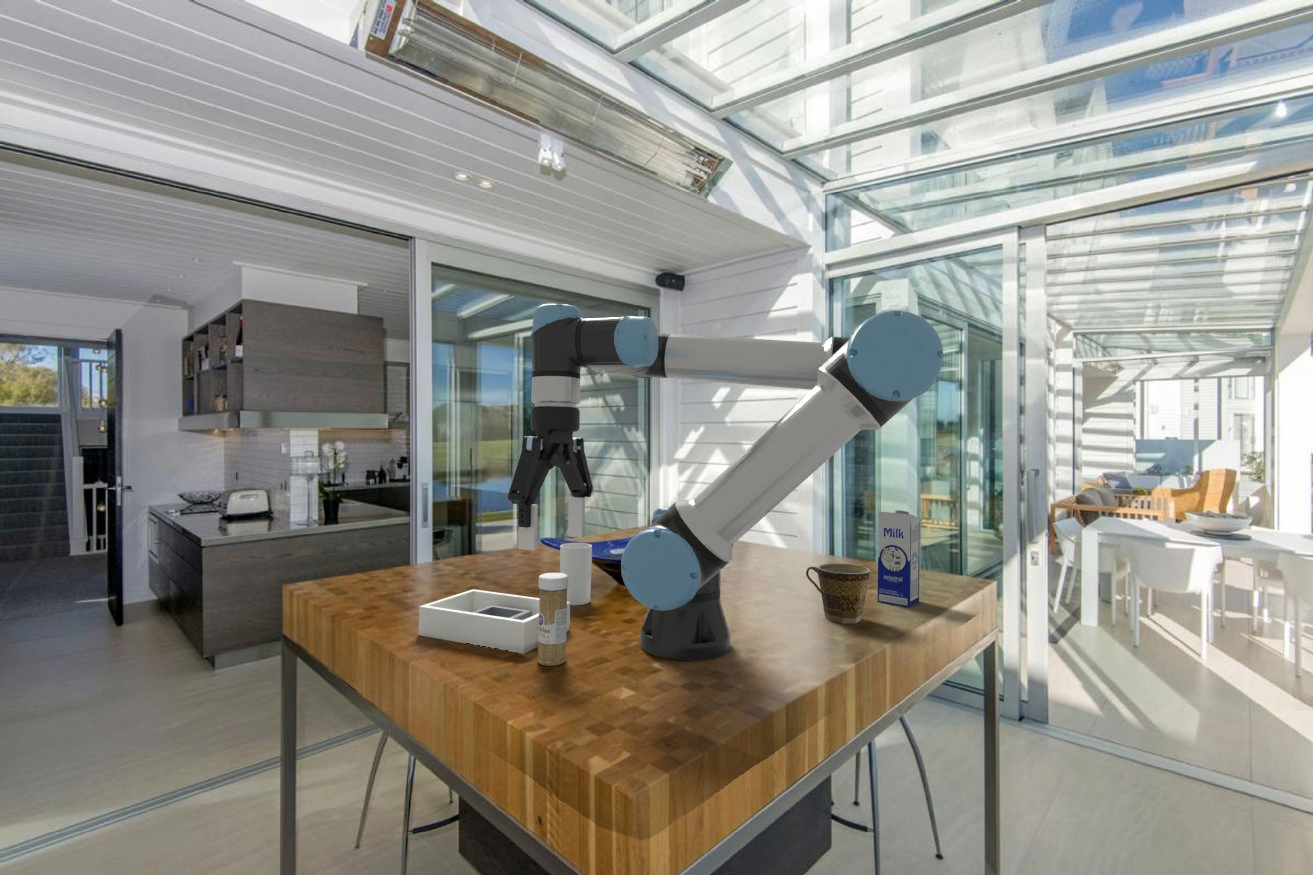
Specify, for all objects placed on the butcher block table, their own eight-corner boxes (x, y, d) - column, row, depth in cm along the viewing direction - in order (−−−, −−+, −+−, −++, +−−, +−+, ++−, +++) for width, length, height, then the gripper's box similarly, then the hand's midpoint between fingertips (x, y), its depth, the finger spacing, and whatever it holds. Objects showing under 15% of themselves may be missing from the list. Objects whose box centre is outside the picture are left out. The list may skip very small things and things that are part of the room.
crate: (569, 629, 112) (569, 602, 112) (523, 653, 99) (524, 622, 99) (472, 614, 120) (472, 589, 120) (418, 635, 107) (419, 606, 107)
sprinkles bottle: (531, 661, 95) (532, 574, 95) (553, 654, 99) (555, 570, 99) (550, 669, 92) (551, 579, 92) (573, 661, 96) (574, 574, 96)
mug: (590, 605, 128) (591, 548, 128) (558, 606, 128) (559, 548, 128) (592, 593, 138) (592, 540, 138) (561, 594, 138) (562, 540, 138)
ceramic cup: (877, 618, 122) (878, 568, 122) (856, 629, 114) (857, 575, 114) (817, 606, 130) (817, 559, 130) (793, 616, 123) (794, 565, 123)
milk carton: (876, 601, 135) (877, 510, 135) (887, 596, 140) (888, 508, 140) (909, 607, 130) (910, 513, 130) (919, 601, 135) (920, 510, 136)
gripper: (576, 410, 109) (574, 530, 108) (483, 401, 86) (481, 553, 86) (613, 410, 106) (612, 533, 106) (528, 400, 83) (526, 558, 83)
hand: (553, 542), depth 96 cm, fingers open, 13 cm apart
